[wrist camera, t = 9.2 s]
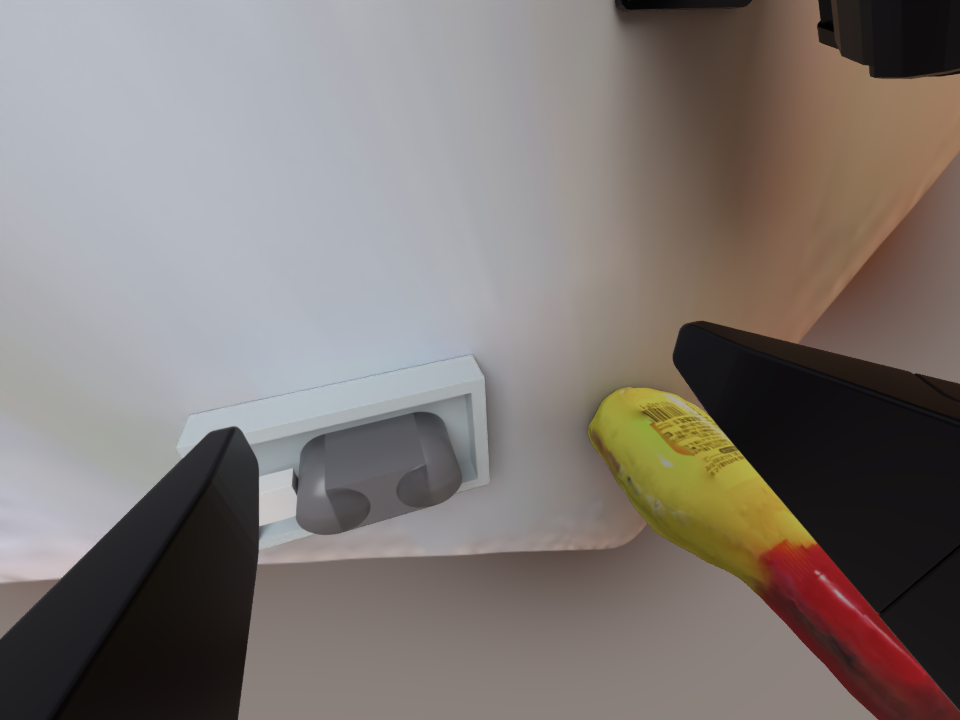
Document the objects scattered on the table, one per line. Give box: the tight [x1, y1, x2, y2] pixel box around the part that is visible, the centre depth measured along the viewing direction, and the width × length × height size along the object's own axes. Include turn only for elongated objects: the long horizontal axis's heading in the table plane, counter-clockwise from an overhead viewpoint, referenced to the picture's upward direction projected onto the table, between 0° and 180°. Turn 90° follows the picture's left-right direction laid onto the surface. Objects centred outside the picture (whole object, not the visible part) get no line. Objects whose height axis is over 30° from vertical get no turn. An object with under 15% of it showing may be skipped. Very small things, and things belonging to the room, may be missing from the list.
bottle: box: [588, 387, 960, 720], centre depth 24 cm, size 12×6×20 cm, turn 67°
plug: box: [259, 412, 462, 535], centre depth 23 cm, size 11×4×4 cm, turn 93°
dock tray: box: [176, 355, 490, 550], centre depth 24 cm, size 15×9×2 cm, turn 93°
